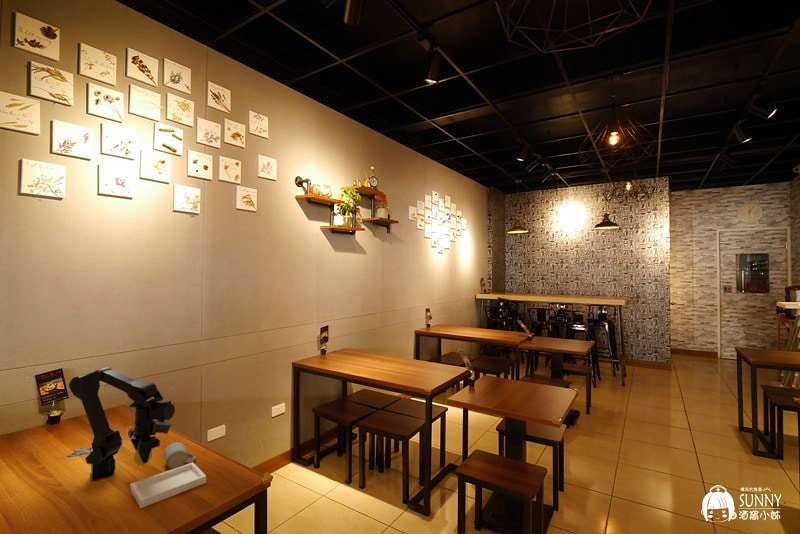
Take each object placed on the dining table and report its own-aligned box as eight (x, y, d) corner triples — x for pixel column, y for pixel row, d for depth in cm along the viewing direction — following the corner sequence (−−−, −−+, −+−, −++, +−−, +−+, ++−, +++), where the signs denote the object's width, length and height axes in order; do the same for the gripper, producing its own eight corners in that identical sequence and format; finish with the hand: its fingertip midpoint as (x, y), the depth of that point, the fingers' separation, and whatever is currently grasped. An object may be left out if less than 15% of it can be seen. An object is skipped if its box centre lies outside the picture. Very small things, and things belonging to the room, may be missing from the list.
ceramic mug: (166, 472, 139) (167, 452, 139) (163, 464, 145) (164, 444, 145) (197, 464, 146) (197, 444, 146) (192, 456, 152) (193, 437, 152)
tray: (140, 508, 118) (140, 500, 118) (130, 490, 127) (130, 483, 127) (206, 482, 132) (206, 475, 132) (192, 468, 142) (192, 462, 142)
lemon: (139, 462, 138) (140, 441, 138) (155, 461, 139) (155, 440, 139) (130, 470, 133) (130, 448, 133) (146, 469, 133) (146, 447, 133)
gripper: (176, 419, 136) (175, 461, 135) (161, 406, 148) (160, 445, 148) (140, 428, 127) (139, 472, 127) (128, 414, 140) (127, 454, 140)
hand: (143, 460), depth 136 cm, fingers closed on lemon, 5 cm apart
